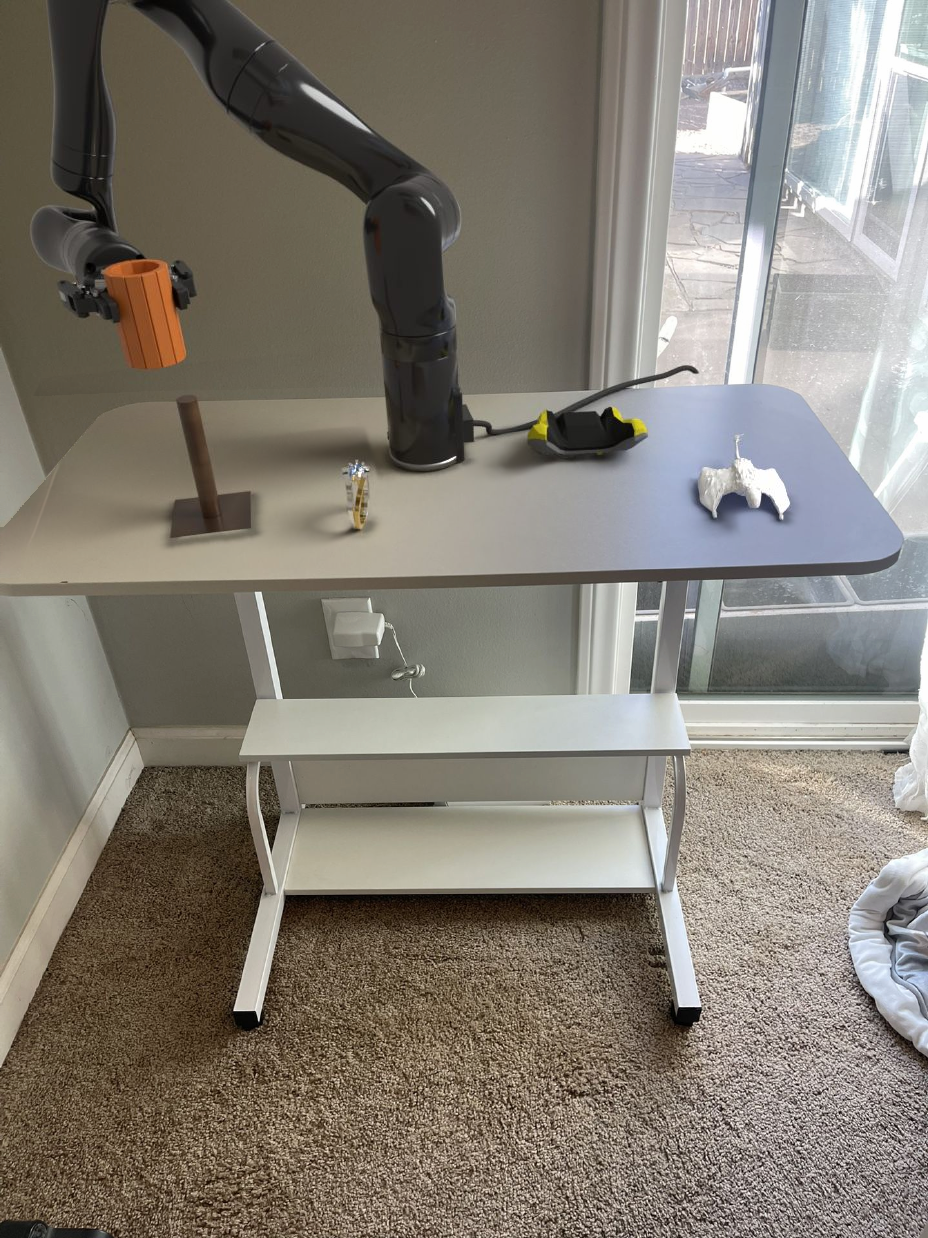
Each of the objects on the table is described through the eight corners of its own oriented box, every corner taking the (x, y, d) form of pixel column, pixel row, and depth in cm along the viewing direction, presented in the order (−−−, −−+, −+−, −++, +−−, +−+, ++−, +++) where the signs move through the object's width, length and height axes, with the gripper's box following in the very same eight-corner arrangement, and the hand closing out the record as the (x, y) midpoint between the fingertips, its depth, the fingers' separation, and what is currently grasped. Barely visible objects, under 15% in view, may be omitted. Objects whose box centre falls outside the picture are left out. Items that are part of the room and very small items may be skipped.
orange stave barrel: (187, 345, 102) (168, 256, 96) (184, 366, 97) (164, 273, 91) (129, 351, 101) (107, 261, 95) (124, 372, 96) (99, 279, 90)
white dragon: (690, 456, 117) (694, 426, 115) (772, 458, 116) (778, 428, 114) (704, 529, 103) (709, 496, 100) (798, 532, 102) (805, 499, 99)
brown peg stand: (251, 496, 112) (229, 379, 103) (252, 533, 105) (228, 410, 96) (176, 505, 111) (147, 387, 102) (171, 543, 104) (139, 420, 95)
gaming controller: (648, 466, 115) (631, 432, 123) (652, 425, 112) (635, 393, 120) (529, 472, 115) (520, 437, 123) (529, 431, 112) (521, 399, 120)
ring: (368, 543, 103) (361, 479, 98) (340, 541, 103) (332, 477, 98) (382, 512, 108) (376, 450, 103) (356, 510, 109) (348, 449, 104)
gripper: (33, 244, 100) (66, 281, 88) (163, 223, 106) (210, 256, 94) (53, 313, 104) (87, 357, 93) (177, 289, 110) (224, 328, 99)
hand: (149, 306), depth 93 cm, fingers closed on orange stave barrel, 6 cm apart
